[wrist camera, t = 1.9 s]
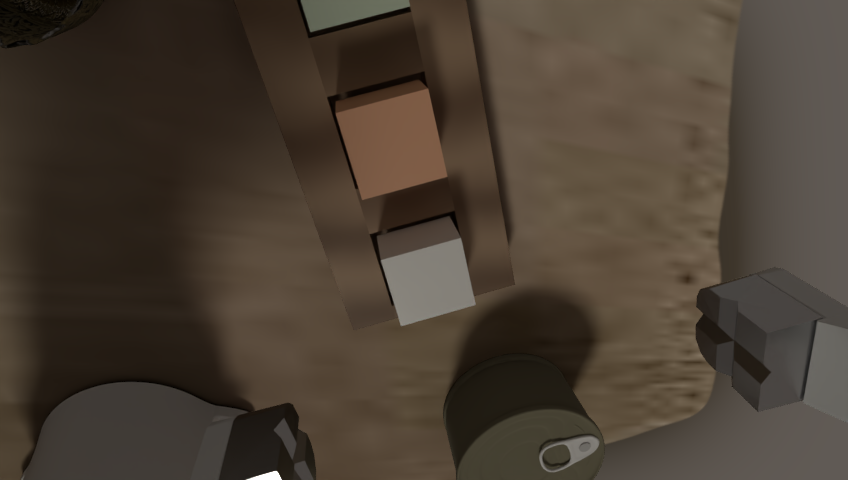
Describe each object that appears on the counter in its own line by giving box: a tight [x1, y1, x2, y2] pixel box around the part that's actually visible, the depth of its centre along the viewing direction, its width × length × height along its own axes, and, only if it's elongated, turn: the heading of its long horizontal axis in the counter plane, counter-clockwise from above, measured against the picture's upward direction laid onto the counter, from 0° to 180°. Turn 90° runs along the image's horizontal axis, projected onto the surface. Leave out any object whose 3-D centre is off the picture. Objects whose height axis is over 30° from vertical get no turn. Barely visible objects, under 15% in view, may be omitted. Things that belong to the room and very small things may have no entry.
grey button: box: [377, 216, 476, 326], centre depth 33 cm, size 5×5×4 cm
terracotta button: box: [335, 79, 448, 200], centre depth 29 cm, size 5×5×4 cm
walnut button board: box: [234, 0, 515, 330], centre depth 32 cm, size 26×12×3 cm, turn 13°
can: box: [443, 354, 605, 480], centre depth 42 cm, size 12×12×7 cm
